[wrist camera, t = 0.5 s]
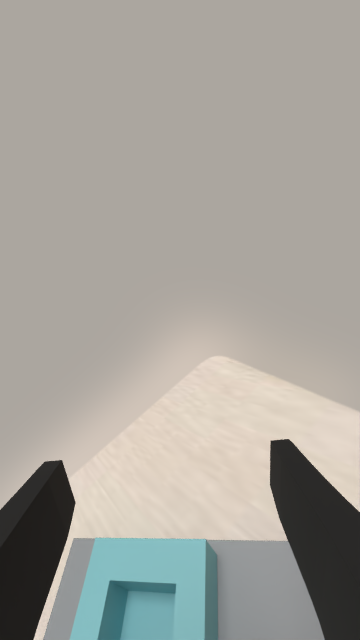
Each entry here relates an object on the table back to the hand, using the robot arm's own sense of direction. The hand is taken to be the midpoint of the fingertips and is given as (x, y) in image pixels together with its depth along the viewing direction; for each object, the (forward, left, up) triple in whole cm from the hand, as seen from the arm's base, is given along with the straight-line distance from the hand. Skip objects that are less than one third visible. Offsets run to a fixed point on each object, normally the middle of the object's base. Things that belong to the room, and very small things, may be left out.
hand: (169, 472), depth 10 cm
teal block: (-3, +7, -19) cm, 21 cm away
